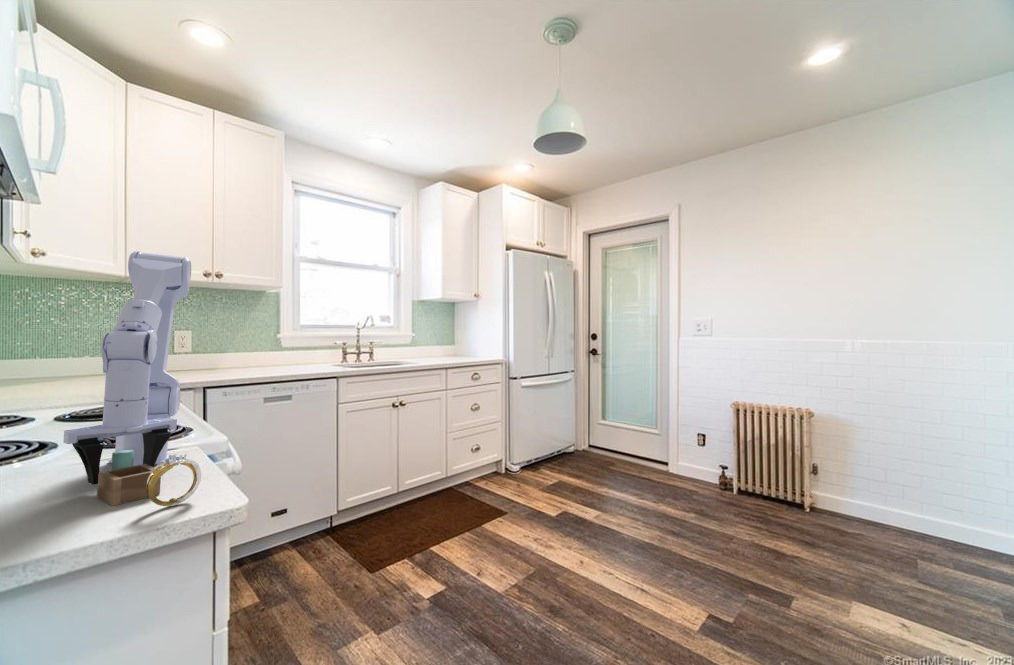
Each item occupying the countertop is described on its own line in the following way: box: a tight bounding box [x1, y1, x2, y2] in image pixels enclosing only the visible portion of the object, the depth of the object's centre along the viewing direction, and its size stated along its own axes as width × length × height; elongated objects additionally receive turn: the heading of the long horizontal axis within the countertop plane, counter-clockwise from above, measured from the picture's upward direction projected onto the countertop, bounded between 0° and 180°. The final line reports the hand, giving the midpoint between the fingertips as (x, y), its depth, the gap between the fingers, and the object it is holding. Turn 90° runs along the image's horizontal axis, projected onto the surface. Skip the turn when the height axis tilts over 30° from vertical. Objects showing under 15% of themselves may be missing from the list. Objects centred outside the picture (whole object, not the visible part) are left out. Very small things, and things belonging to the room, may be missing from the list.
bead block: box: [96, 464, 162, 507], centre depth 68 cm, size 6×6×4 cm
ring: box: [146, 453, 202, 507], centre depth 65 cm, size 7×3×8 cm, turn 147°
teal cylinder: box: [110, 450, 134, 470], centre depth 71 cm, size 3×3×6 cm
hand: (121, 477), depth 71 cm, fingers open, 7 cm apart
